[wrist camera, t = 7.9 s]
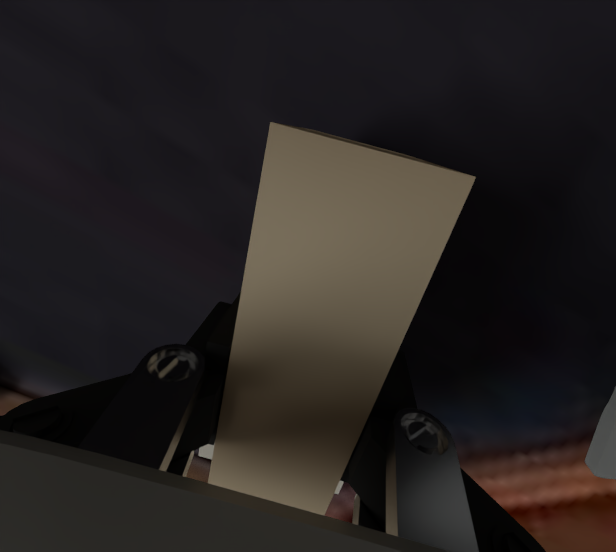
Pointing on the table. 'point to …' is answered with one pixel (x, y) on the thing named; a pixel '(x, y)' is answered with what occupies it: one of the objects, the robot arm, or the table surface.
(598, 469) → the office telephone
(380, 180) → the tan wooden block
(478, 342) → the table surface
